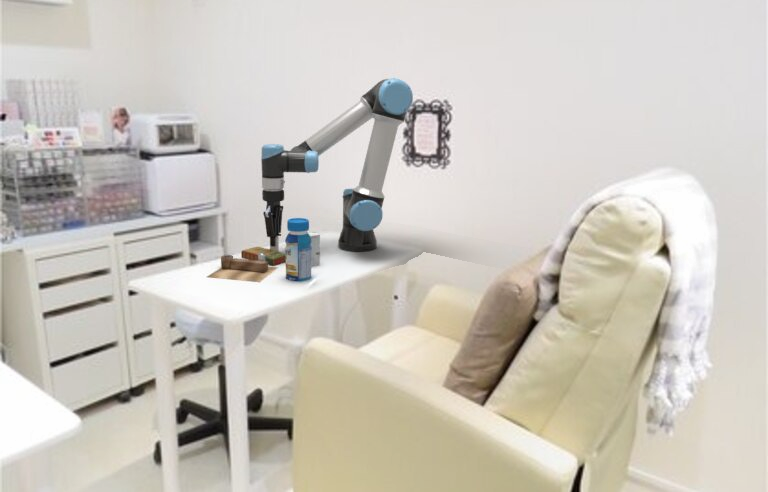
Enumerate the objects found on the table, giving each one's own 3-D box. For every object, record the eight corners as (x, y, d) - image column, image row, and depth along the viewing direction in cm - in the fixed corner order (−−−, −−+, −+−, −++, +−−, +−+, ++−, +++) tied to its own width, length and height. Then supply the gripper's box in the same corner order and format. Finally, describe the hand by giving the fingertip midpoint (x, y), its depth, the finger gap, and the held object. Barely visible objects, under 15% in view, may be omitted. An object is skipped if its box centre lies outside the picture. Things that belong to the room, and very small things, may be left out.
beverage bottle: (311, 285, 185) (311, 223, 180) (284, 285, 184) (283, 222, 179) (312, 276, 193) (312, 217, 188) (286, 276, 192) (285, 216, 187)
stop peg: (266, 267, 198) (266, 252, 197) (264, 269, 196) (263, 254, 194) (260, 266, 198) (259, 252, 197) (257, 268, 196) (256, 254, 195)
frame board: (278, 270, 198) (278, 267, 198) (259, 285, 183) (259, 282, 183) (228, 266, 202) (228, 263, 201) (206, 280, 186) (205, 277, 186)
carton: (258, 257, 215) (258, 245, 214) (290, 265, 206) (290, 253, 205) (241, 261, 208) (240, 250, 207) (273, 270, 200) (273, 258, 198)
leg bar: (219, 267, 195) (218, 256, 194) (225, 264, 198) (224, 252, 197) (263, 272, 191) (263, 260, 190) (268, 269, 195) (268, 257, 194)
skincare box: (304, 271, 199) (304, 236, 196) (298, 267, 202) (298, 233, 199) (320, 268, 202) (320, 234, 199) (314, 265, 206) (314, 231, 202)
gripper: (276, 193, 198) (277, 259, 205) (290, 187, 211) (290, 250, 217) (255, 191, 200) (257, 258, 206) (270, 185, 212) (271, 248, 218)
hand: (274, 254), depth 212 cm, fingers closed
